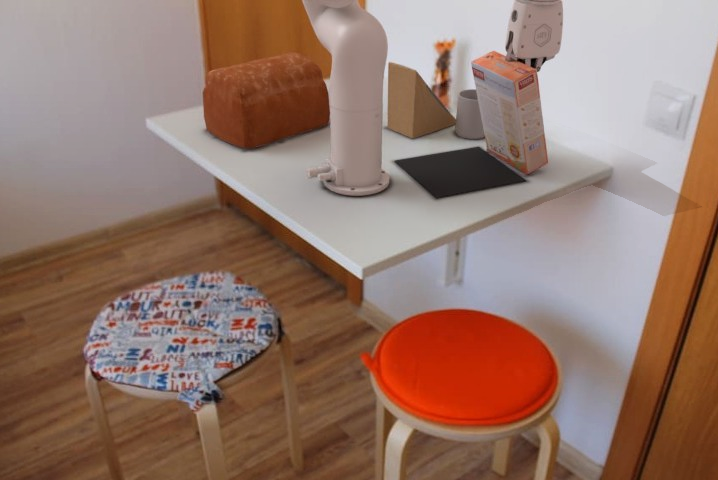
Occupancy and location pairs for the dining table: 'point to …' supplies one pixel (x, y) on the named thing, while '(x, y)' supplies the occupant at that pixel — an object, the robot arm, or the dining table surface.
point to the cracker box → (511, 111)
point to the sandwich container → (413, 104)
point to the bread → (265, 100)
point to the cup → (468, 115)
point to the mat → (459, 172)
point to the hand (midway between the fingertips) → (525, 90)
